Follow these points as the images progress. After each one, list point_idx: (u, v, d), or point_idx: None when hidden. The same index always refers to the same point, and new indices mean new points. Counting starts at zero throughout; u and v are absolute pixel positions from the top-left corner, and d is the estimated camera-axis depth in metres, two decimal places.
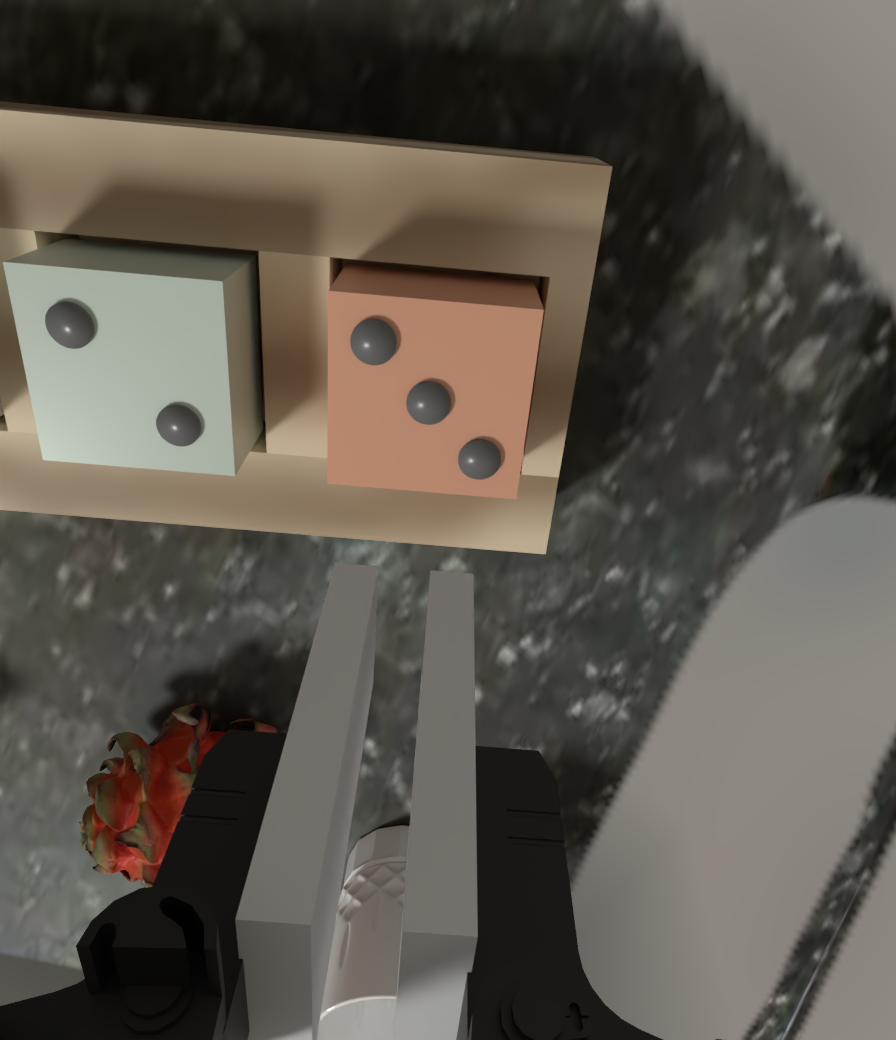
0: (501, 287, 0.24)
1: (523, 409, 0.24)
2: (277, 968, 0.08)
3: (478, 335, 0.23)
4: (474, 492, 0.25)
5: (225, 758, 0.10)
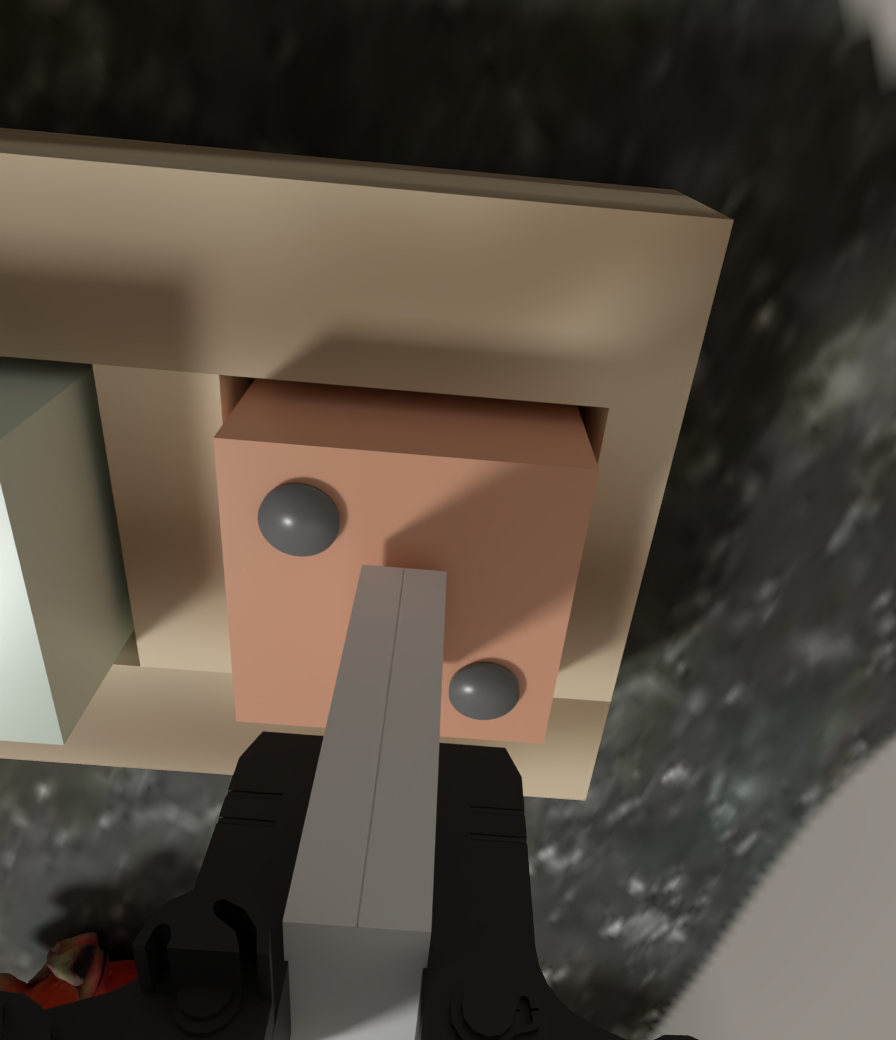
0: (520, 408, 0.15)
1: (558, 620, 0.14)
2: (322, 970, 0.08)
3: (483, 508, 0.13)
4: (475, 734, 0.16)
5: (261, 761, 0.10)
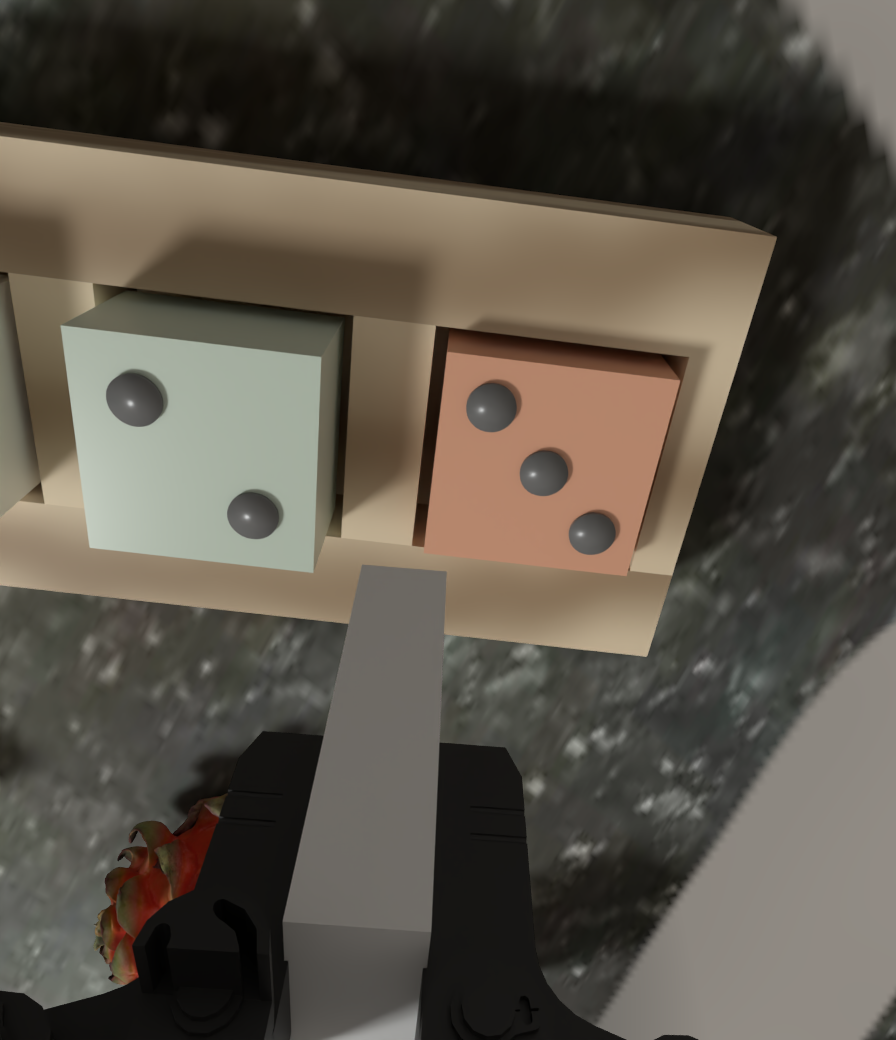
0: (622, 349, 0.23)
1: (645, 483, 0.22)
2: (321, 971, 0.08)
3: (606, 404, 0.21)
4: (582, 567, 0.24)
5: (260, 761, 0.10)
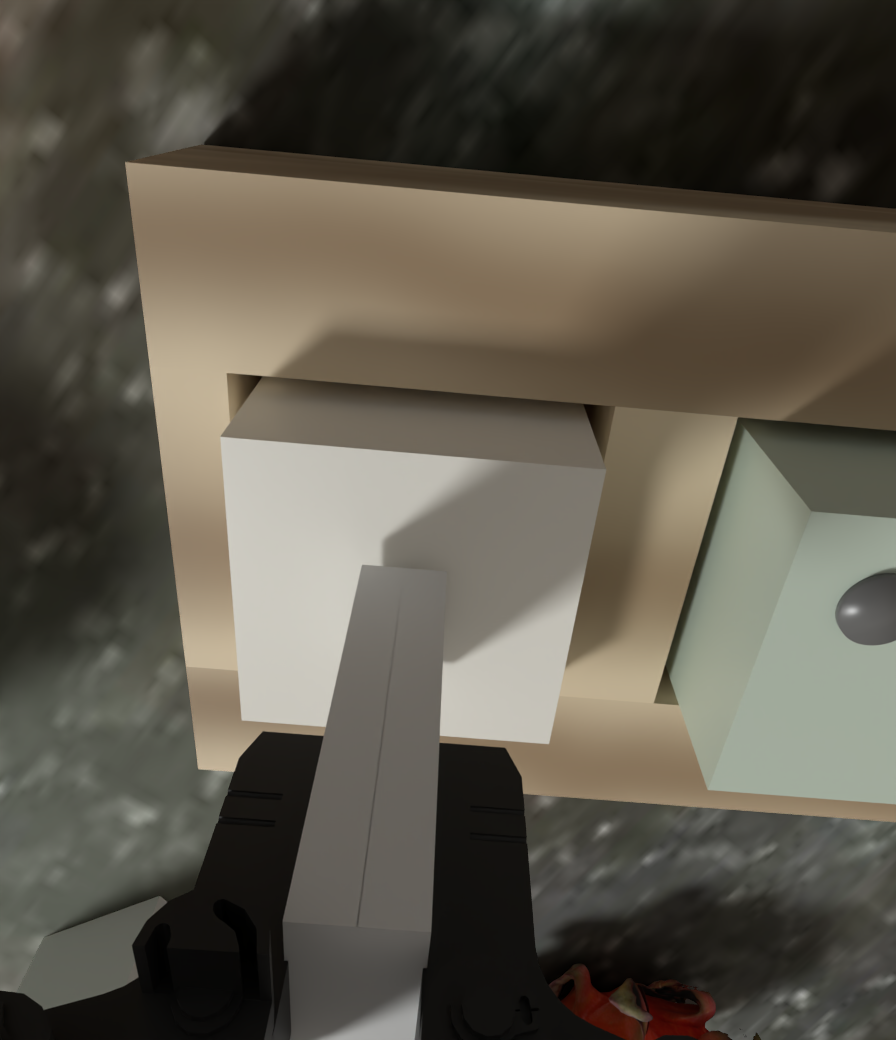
0: None
1: None
2: (322, 970, 0.08)
3: None
4: None
5: (260, 761, 0.10)
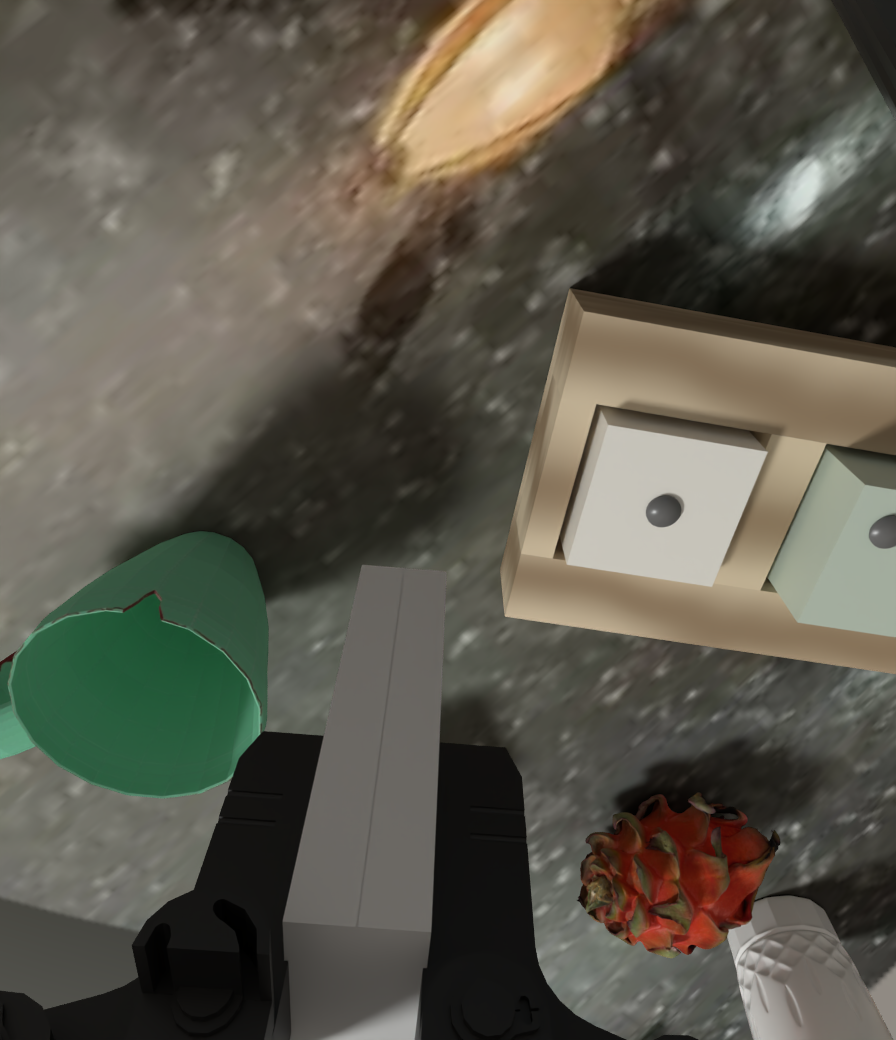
0: None
1: None
2: (322, 971, 0.08)
3: None
4: None
5: (260, 761, 0.10)
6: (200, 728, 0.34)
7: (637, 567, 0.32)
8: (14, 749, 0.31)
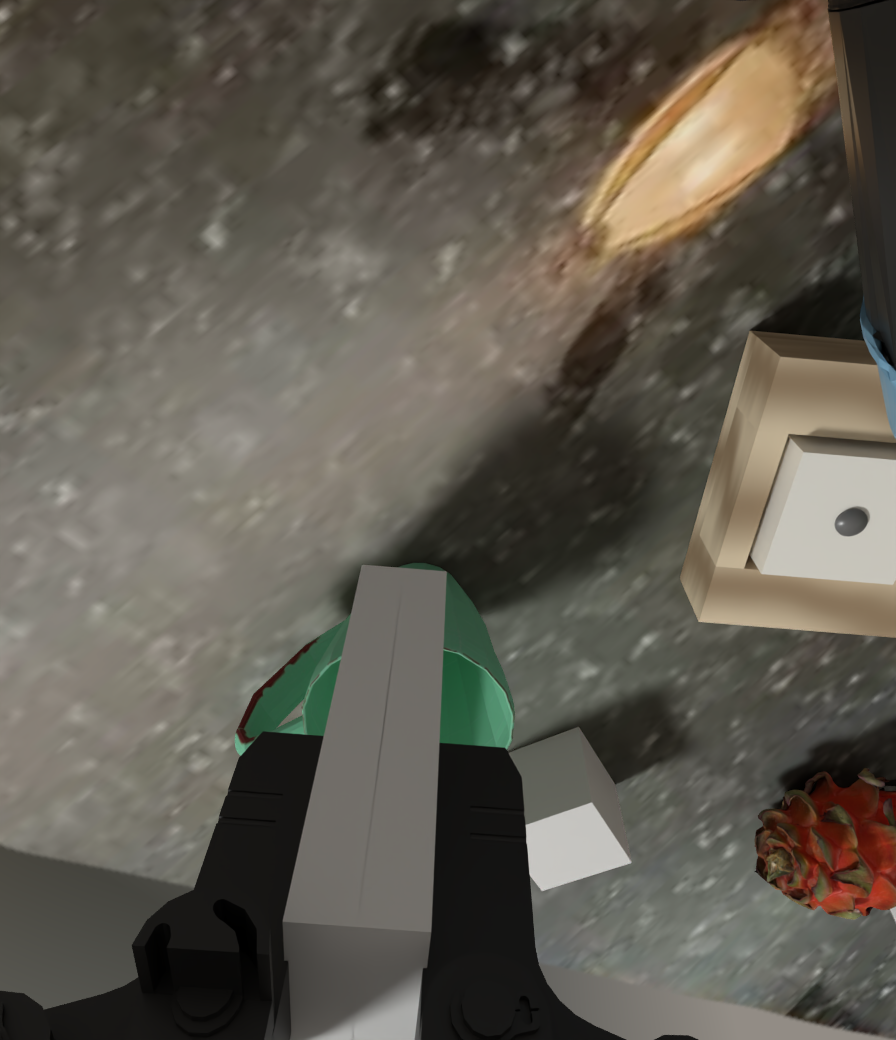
0: None
1: None
2: (322, 969, 0.08)
3: None
4: None
5: (261, 760, 0.10)
6: None
7: (825, 572, 0.36)
8: None
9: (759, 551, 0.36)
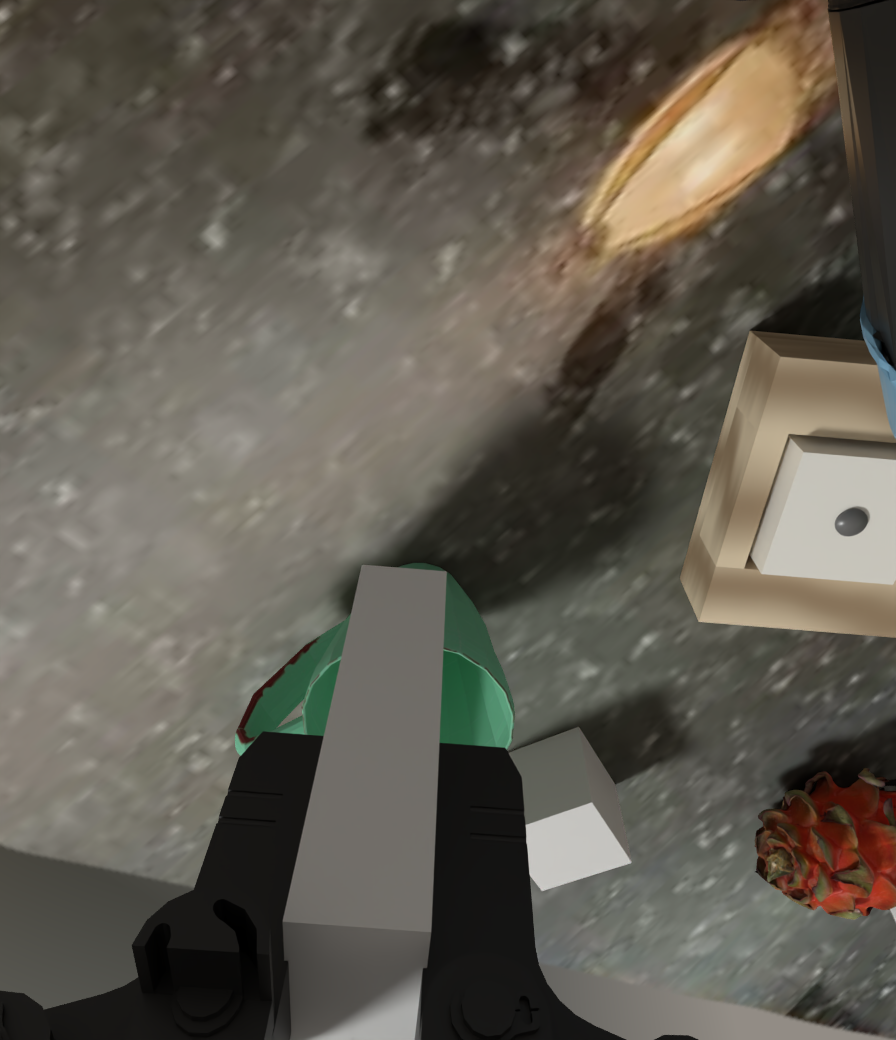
0: None
1: None
2: (322, 970, 0.08)
3: None
4: None
5: (260, 761, 0.10)
6: None
7: (825, 572, 0.36)
8: None
9: (759, 551, 0.36)
